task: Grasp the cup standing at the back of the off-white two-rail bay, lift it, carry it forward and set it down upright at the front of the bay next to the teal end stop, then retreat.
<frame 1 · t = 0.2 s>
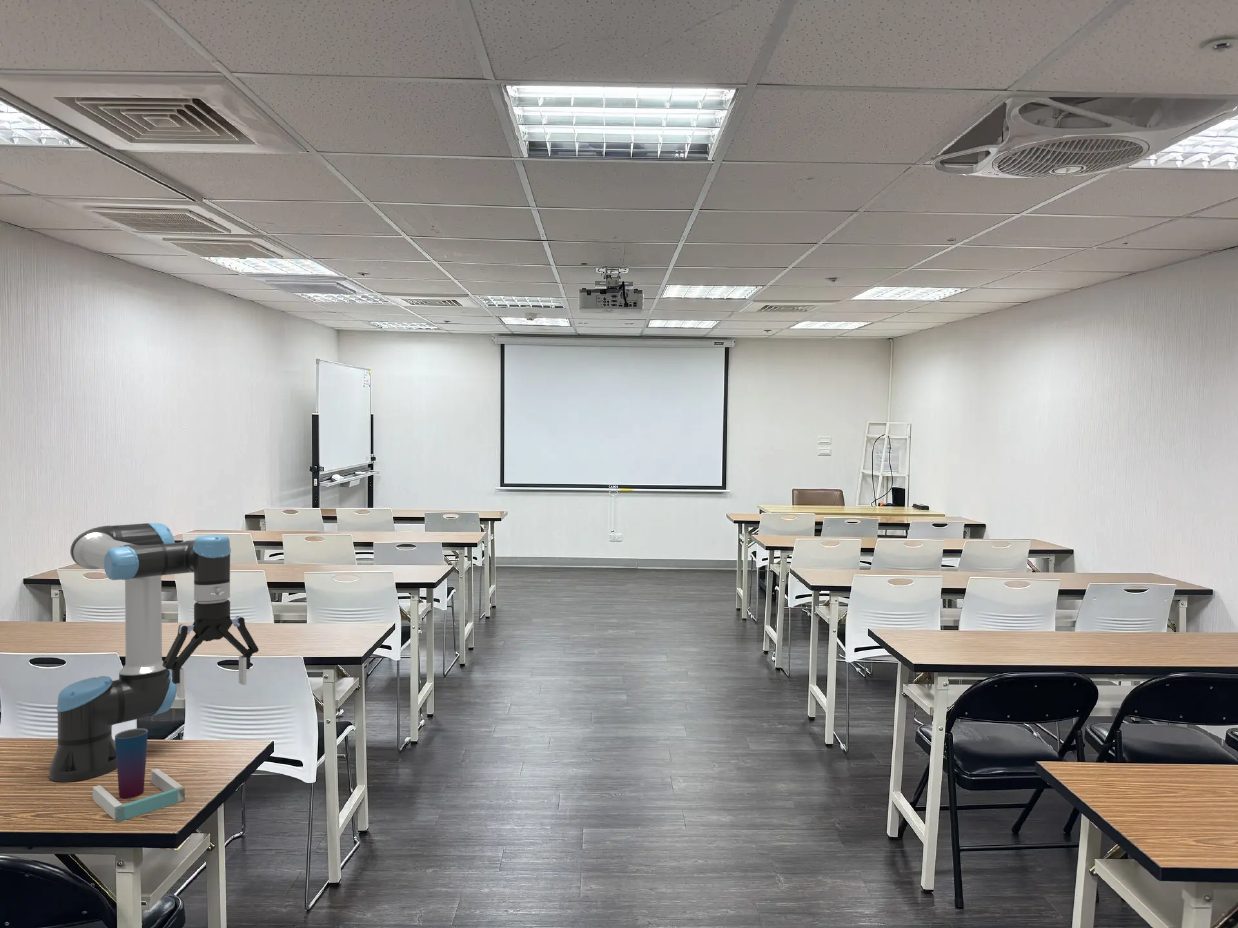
hand: (212, 690, 173), 28 cm above the table, fingers open, 13 cm apart
cup: (131, 794, 179), on the table
bay: (138, 799, 176), on the table
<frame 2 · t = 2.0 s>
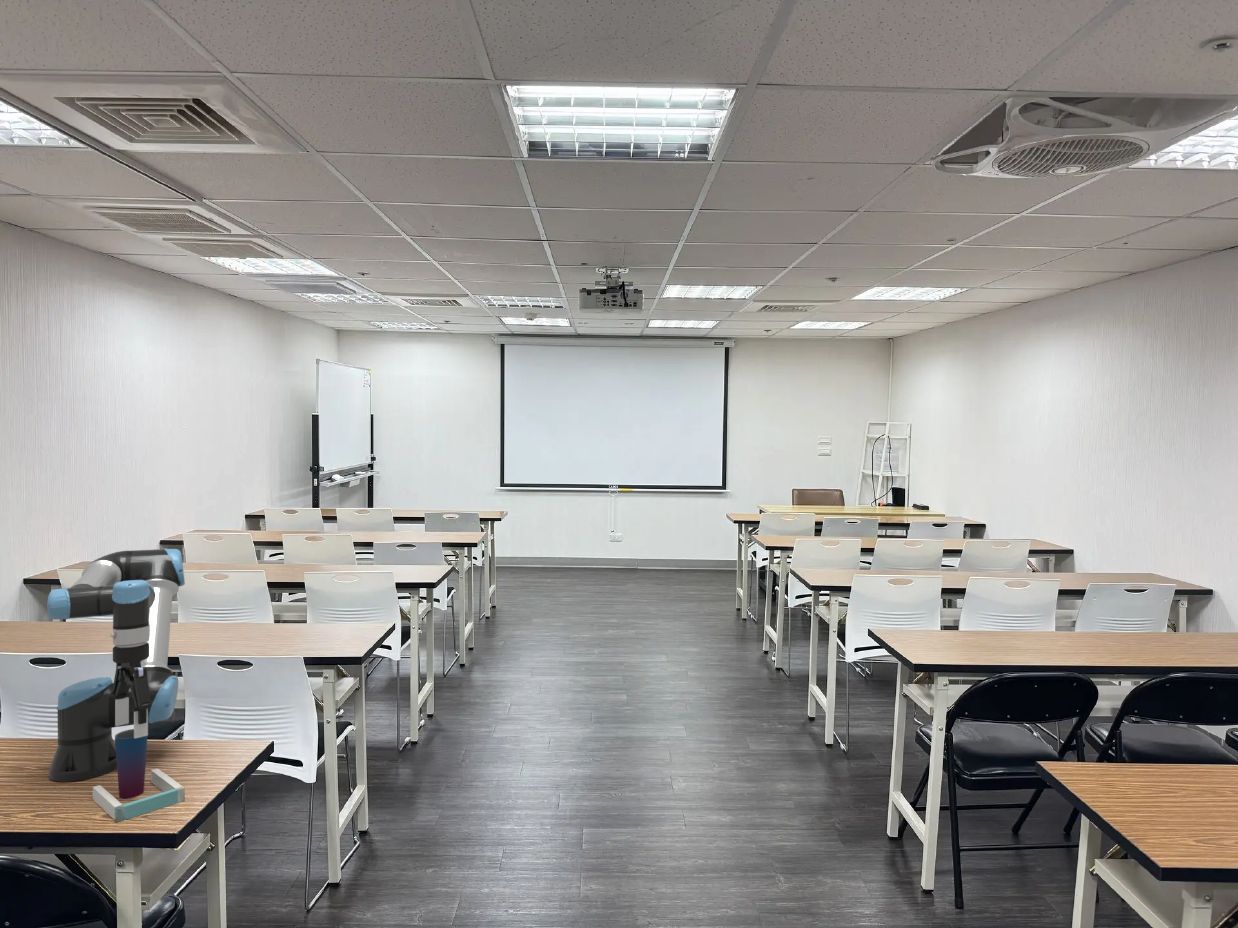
hand: (131, 730, 179), 16 cm above the table, fingers open, 13 cm apart
nothing on the table moved.
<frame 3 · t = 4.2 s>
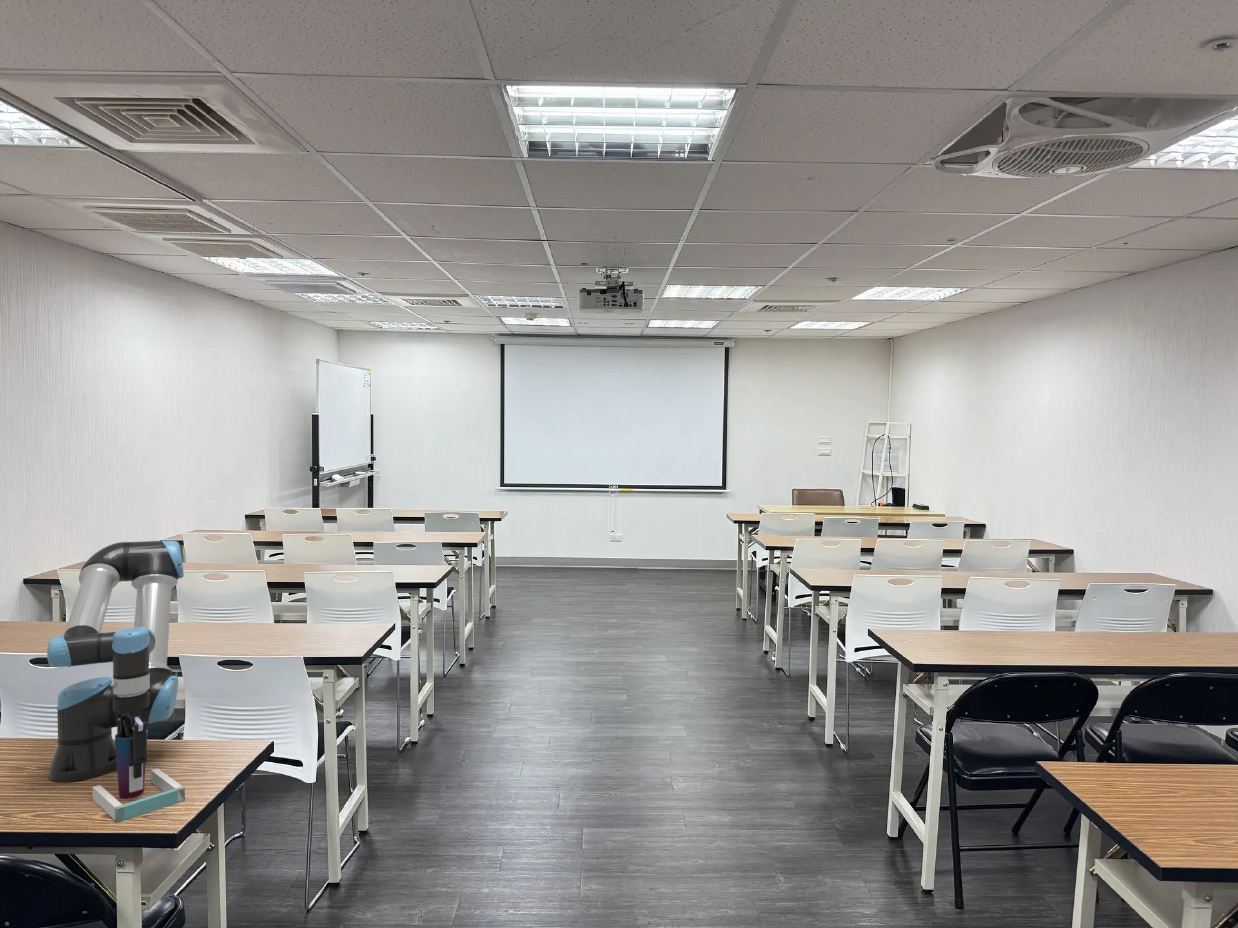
hand: (131, 786, 179), 2 cm above the table, fingers closed on cup, 6 cm apart
cup: (131, 794, 179), on the table, touching gripper
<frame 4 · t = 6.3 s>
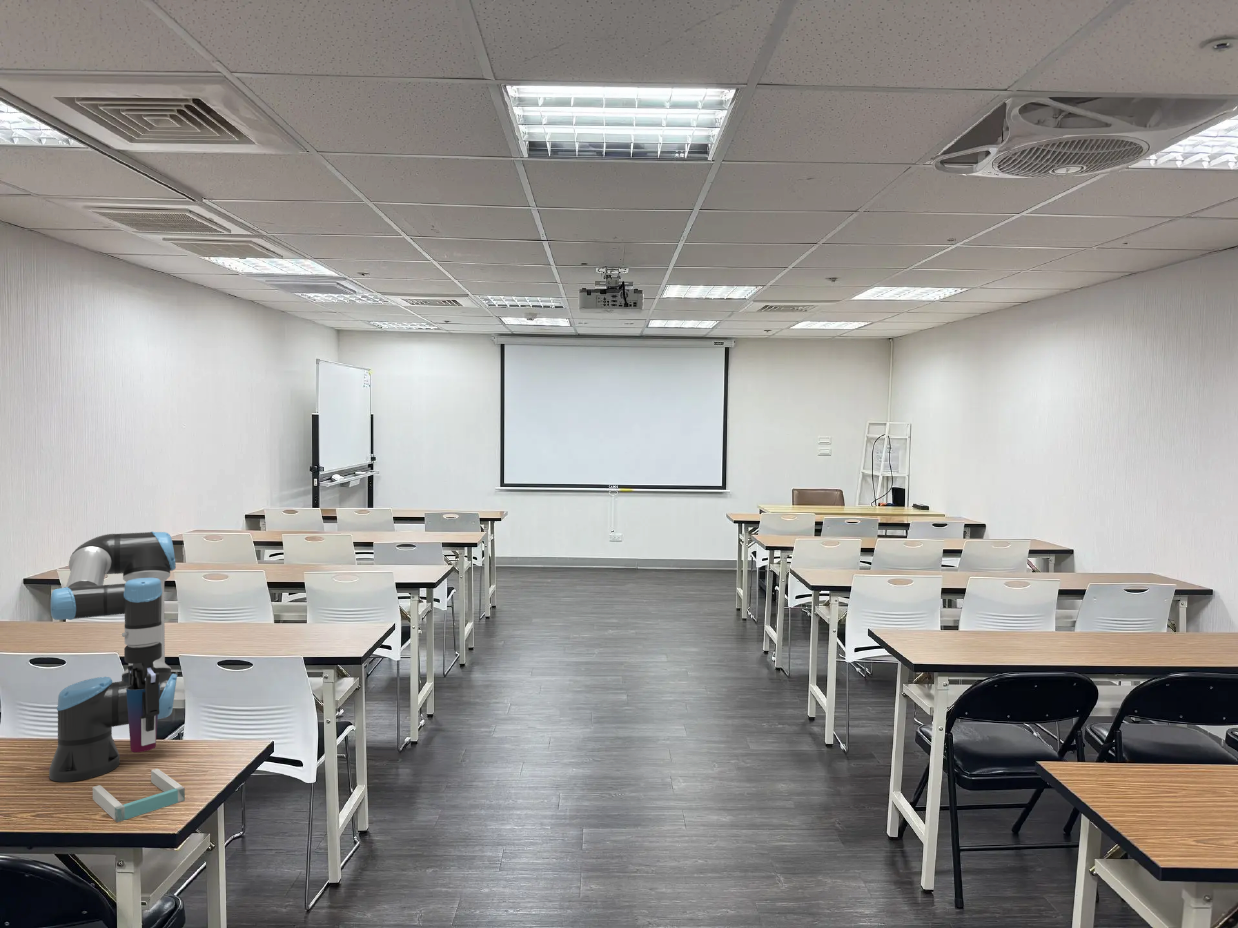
hand: (143, 740, 174), 15 cm above the table, fingers closed on cup, 6 cm apart
cup: (143, 748, 174), point 13 cm above the table, touching gripper
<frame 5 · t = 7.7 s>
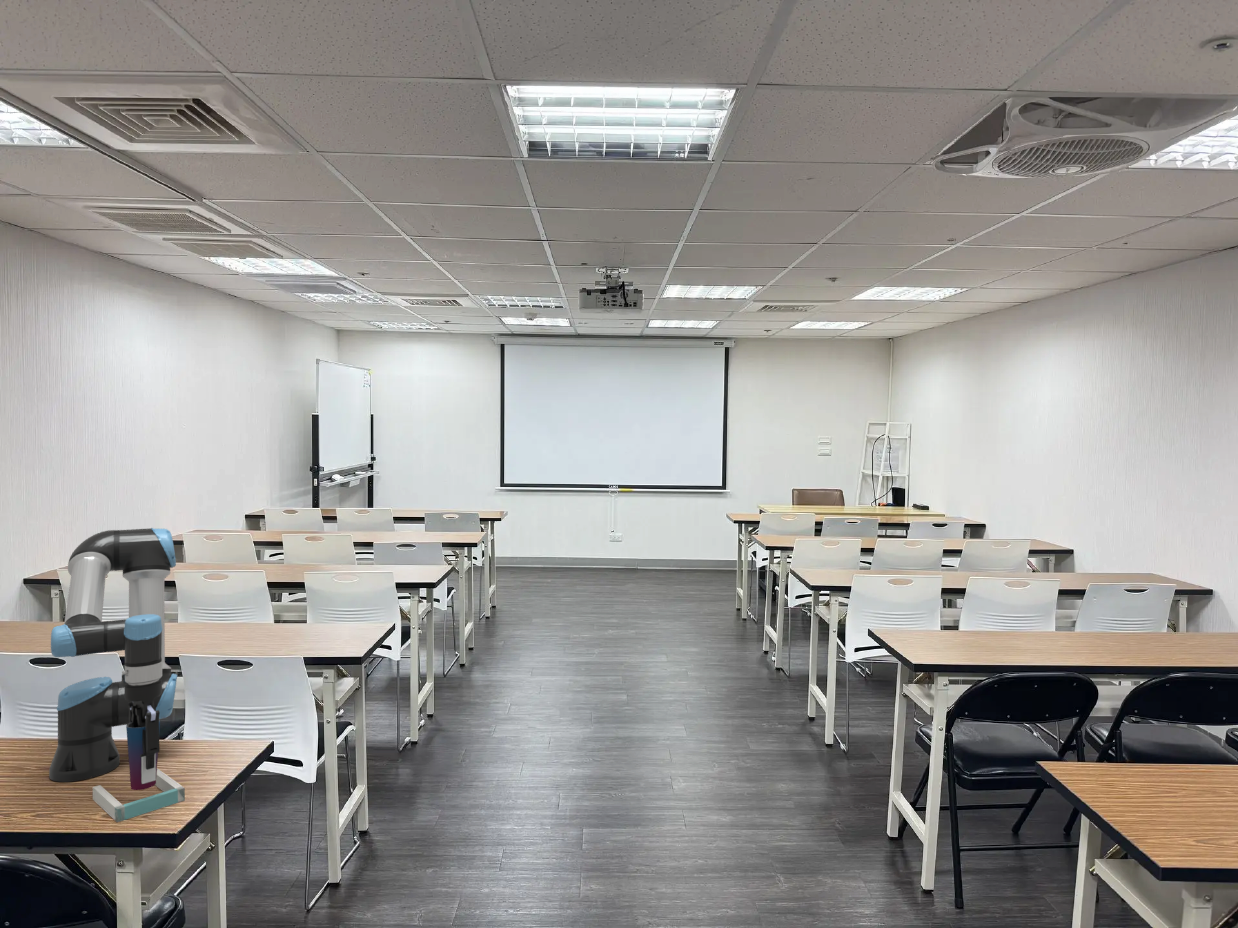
hand: (143, 777, 174), 6 cm above the table, fingers closed on cup, 6 cm apart
cup: (143, 786, 174), point 4 cm above the table, touching gripper
when the fingers open (5 cm above the table, at t = 8.8 s): cup drops 3 cm, on the table.
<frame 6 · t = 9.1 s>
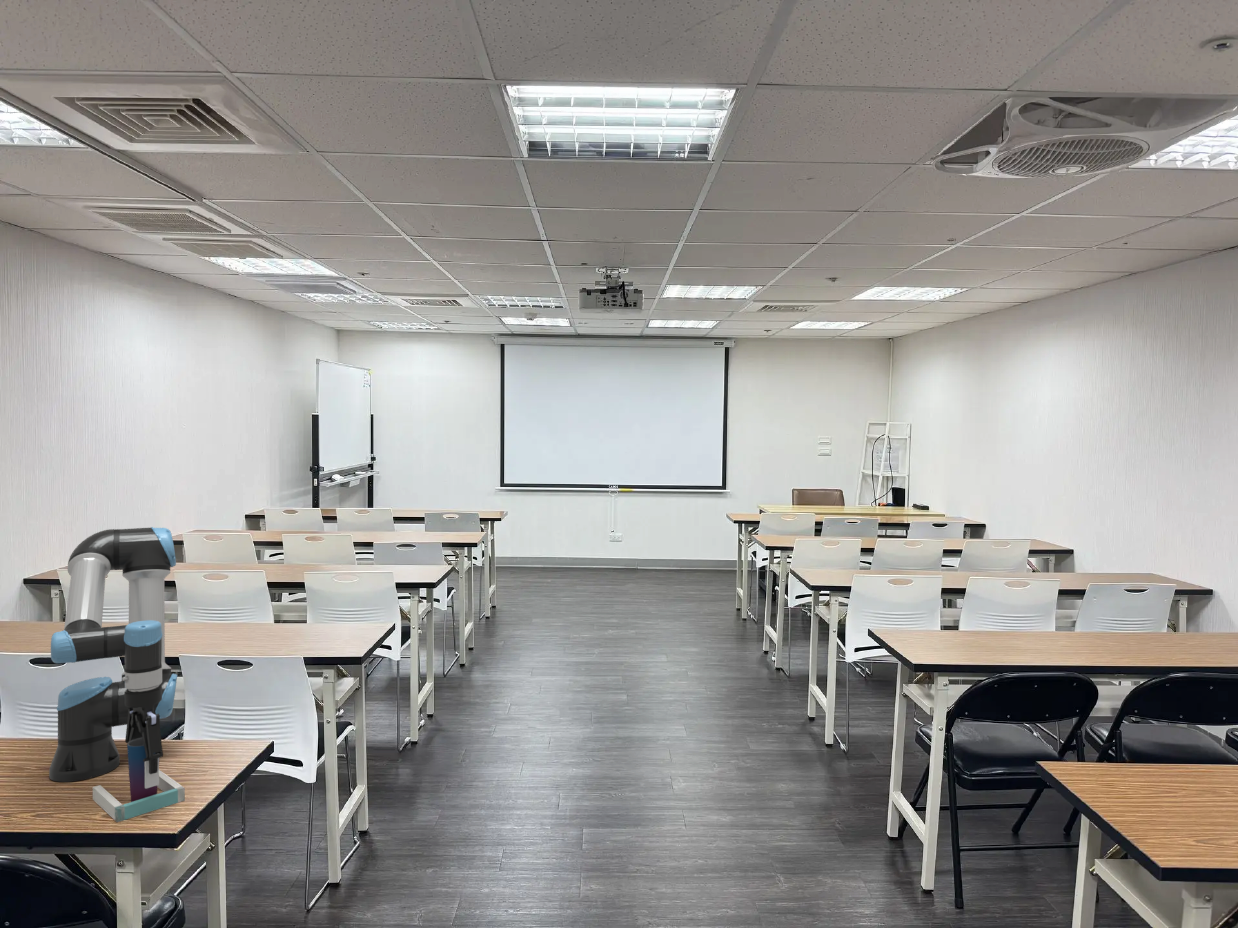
hand: (143, 779, 174), 6 cm above the table, fingers open, 10 cm apart
cup: (143, 804, 174), on the table
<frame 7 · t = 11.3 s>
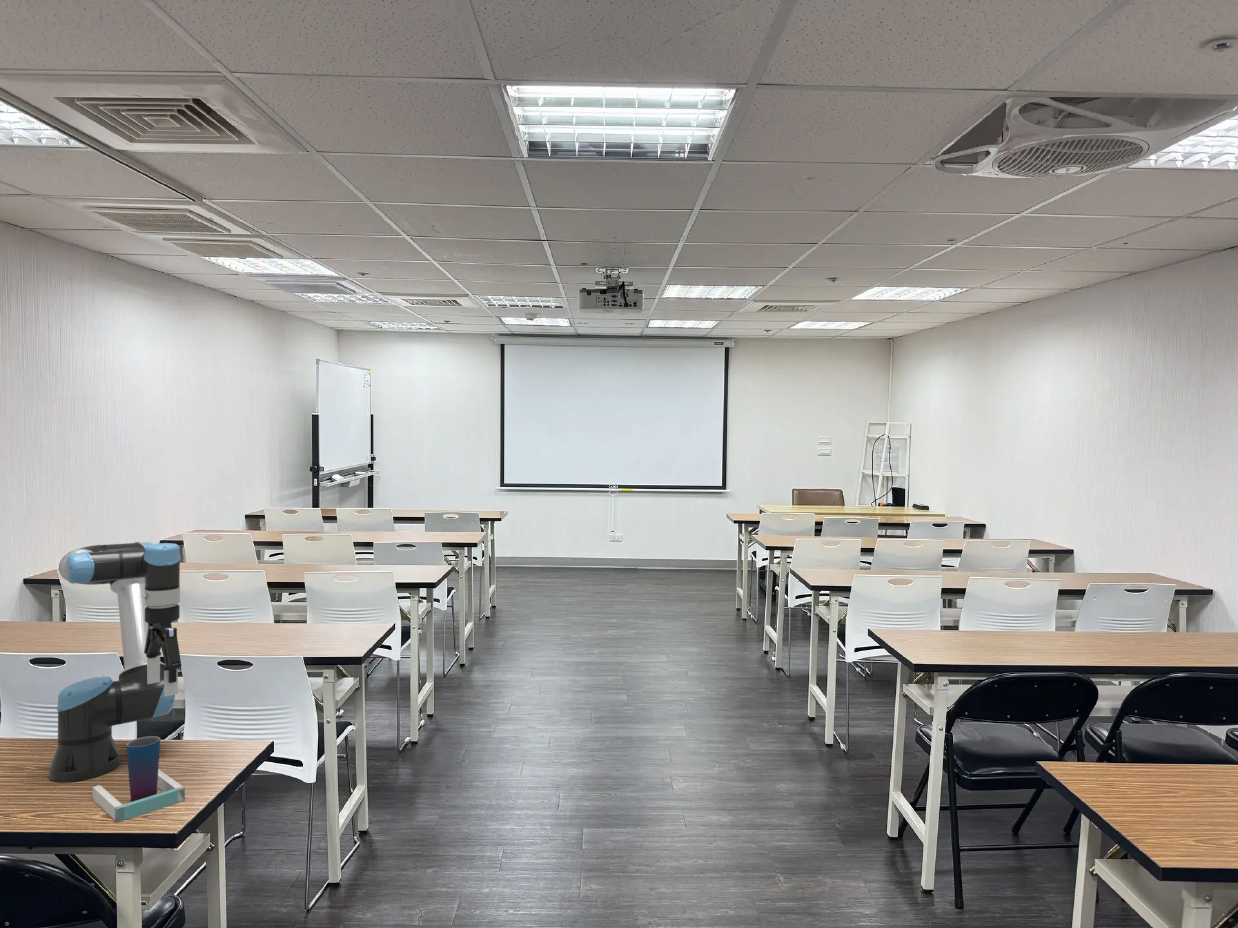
hand: (162, 688, 184), 24 cm above the table, fingers open, 13 cm apart
nothing on the table moved.
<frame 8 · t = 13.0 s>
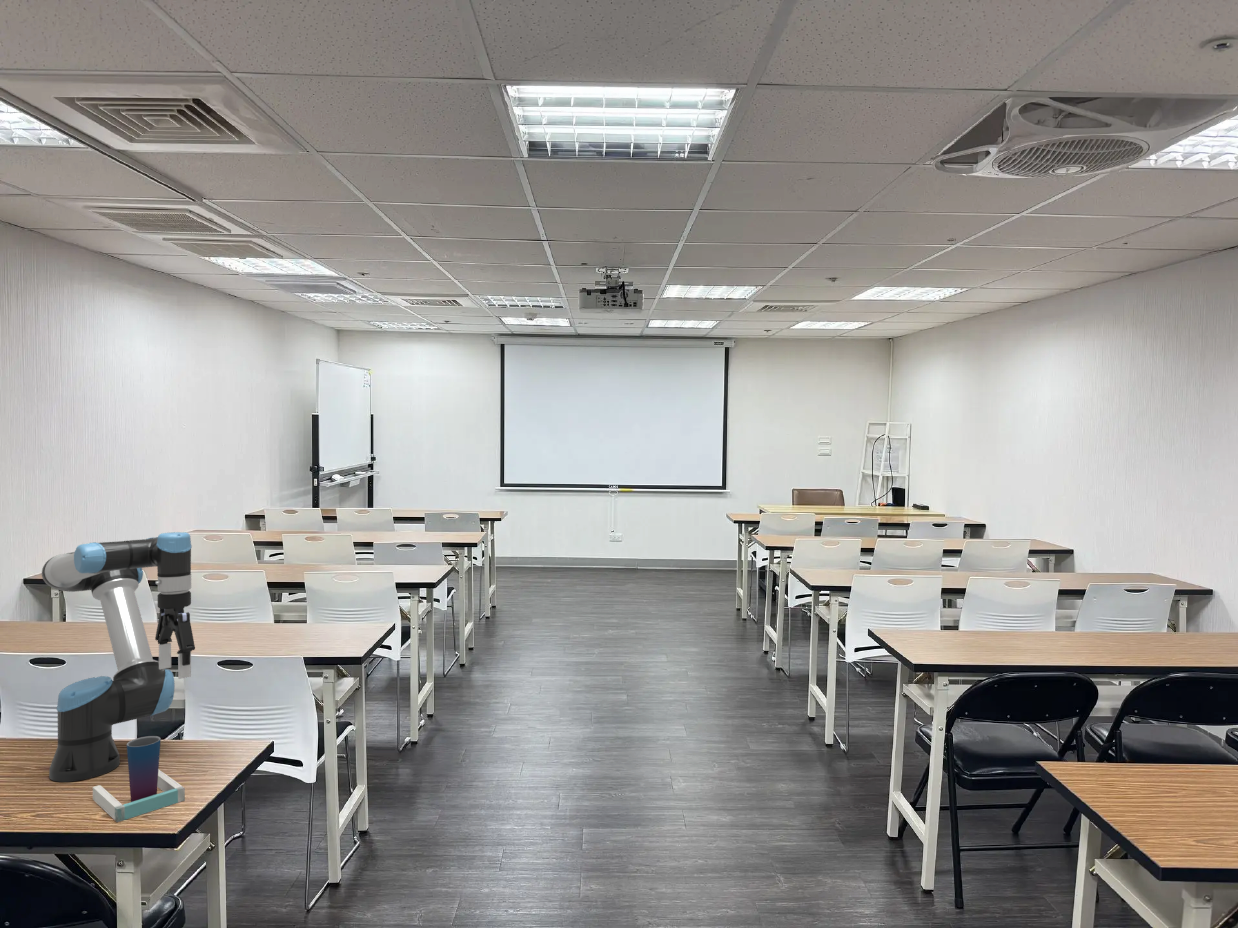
hand: (174, 672, 190), 27 cm above the table, fingers open, 13 cm apart
nothing on the table moved.
at the end: cup inside the target area (0.4 cm from its centre), on the table; cup tilted 0°; the gripper is holding nothing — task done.
